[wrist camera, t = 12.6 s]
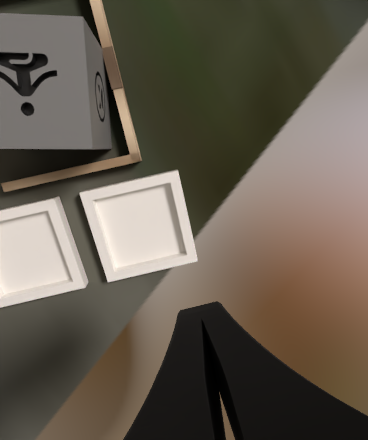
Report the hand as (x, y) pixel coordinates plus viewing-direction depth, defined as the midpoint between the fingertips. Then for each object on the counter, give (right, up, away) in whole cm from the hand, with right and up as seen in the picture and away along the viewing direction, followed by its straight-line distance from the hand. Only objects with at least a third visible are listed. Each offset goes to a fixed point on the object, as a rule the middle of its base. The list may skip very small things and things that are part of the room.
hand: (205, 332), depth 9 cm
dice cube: (-8, +10, +7) cm, 15 cm away
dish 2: (-3, +3, +9) cm, 10 cm away
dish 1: (-11, +2, +9) cm, 14 cm away
